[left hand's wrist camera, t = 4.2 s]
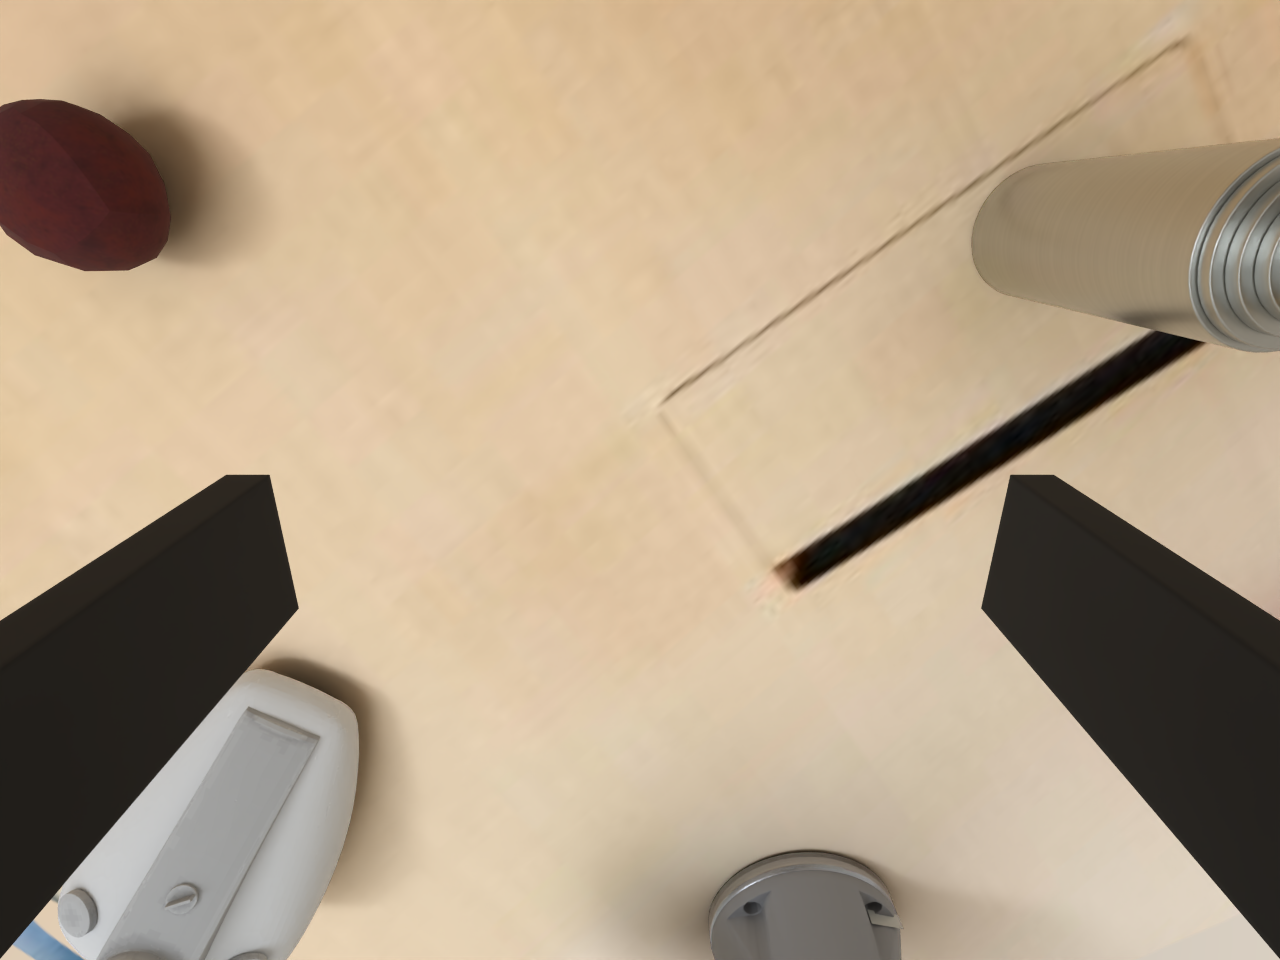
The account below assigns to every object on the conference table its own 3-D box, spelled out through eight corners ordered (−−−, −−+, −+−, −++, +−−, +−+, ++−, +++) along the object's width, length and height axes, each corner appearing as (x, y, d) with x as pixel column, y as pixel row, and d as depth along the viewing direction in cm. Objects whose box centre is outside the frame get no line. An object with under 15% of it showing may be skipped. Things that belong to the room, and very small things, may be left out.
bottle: (1011, 322, 38) (1404, 442, 19) (947, 226, 37) (1308, 249, 17) (1121, 237, 37) (1680, 273, 17) (1060, 133, 35) (1607, 36, 15)
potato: (117, 79, 34) (-8, 48, 27) (233, 217, 36) (143, 220, 30) (23, 169, 35) (-117, 160, 29) (139, 296, 38) (34, 315, 31)
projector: (454, 862, 54) (392, 1082, 40) (201, 921, 57) (63, 1146, 43) (325, 640, 46) (195, 819, 33) (38, 720, 49) (-194, 918, 35)
